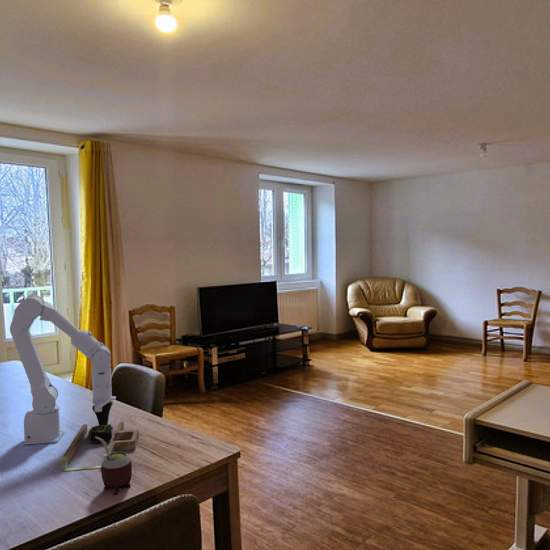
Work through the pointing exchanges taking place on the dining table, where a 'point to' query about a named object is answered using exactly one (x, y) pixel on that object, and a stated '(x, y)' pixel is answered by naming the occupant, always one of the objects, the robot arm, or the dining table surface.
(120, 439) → the channel
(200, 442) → the dining table surface
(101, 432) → the tape measure
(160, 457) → the dining table surface
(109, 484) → the mate gourd
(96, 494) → the dining table surface
